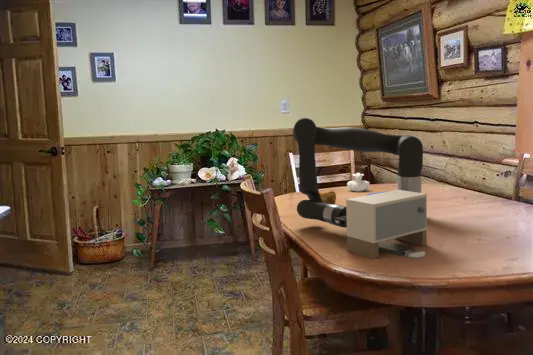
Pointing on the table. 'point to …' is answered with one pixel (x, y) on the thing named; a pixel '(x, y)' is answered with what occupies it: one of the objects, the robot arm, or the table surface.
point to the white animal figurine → (358, 183)
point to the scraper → (393, 248)
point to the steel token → (415, 253)
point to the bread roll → (328, 197)
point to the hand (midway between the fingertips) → (370, 223)
